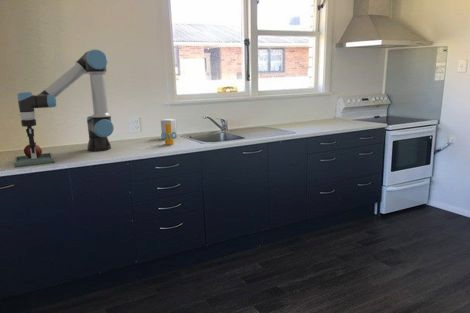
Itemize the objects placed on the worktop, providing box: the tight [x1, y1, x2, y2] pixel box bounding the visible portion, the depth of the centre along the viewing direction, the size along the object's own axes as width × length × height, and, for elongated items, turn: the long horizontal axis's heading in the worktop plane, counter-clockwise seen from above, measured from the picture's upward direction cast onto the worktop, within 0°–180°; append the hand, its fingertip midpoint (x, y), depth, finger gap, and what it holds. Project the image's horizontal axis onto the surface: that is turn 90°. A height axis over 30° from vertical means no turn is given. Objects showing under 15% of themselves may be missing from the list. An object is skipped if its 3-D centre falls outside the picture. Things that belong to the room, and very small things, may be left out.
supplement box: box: [160, 118, 178, 140], centre depth 288 cm, size 9×9×15 cm
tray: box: [13, 152, 55, 168], centre depth 219 cm, size 20×20×2 cm
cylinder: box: [160, 123, 178, 146], centre depth 263 cm, size 12×10×15 cm
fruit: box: [23, 141, 43, 159], centre depth 218 cm, size 9×10×10 cm
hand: (33, 156), depth 219 cm, fingers closed on fruit, 9 cm apart
